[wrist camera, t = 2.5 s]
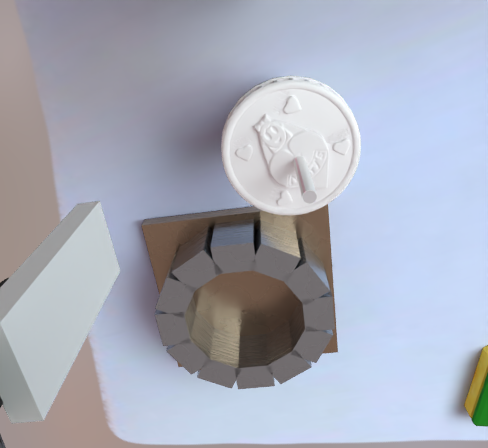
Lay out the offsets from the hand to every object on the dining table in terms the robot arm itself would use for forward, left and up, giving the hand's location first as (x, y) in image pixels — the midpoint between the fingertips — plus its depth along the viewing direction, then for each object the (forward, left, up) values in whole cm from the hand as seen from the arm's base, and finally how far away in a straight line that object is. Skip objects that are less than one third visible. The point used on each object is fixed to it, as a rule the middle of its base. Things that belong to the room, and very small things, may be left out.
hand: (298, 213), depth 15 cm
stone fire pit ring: (+13, -4, -16) cm, 21 cm away
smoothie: (0, 0, -16) cm, 16 cm away
